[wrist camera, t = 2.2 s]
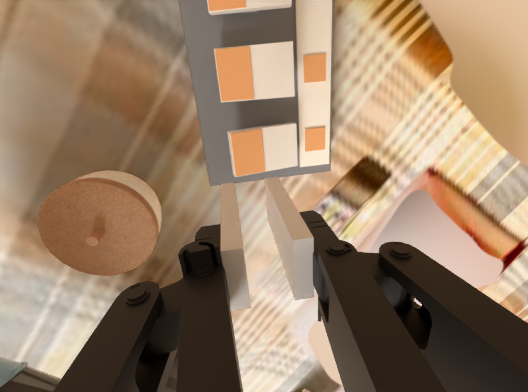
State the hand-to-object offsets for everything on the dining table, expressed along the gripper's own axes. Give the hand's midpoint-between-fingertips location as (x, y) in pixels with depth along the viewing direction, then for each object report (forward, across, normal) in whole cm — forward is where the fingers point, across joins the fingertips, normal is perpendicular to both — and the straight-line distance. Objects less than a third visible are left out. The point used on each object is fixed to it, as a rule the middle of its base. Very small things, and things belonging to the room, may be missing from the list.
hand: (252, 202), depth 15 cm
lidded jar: (+19, +15, +6) cm, 24 cm away
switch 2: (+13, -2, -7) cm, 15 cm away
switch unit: (+18, -3, -7) cm, 20 cm away
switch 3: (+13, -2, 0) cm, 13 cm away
